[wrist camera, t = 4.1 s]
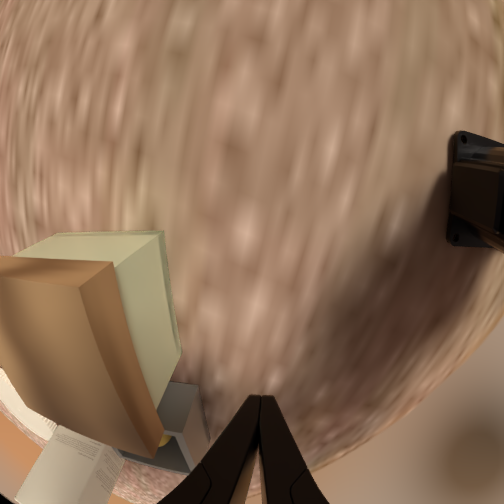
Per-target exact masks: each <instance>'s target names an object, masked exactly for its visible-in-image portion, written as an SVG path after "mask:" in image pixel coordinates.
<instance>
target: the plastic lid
mask: <svg viewBox="0 0 504 504" xmlns="http://www.w3.org/2000/svg"><path fill="white" fill-rule="evenodd" d="M0 400H1V401H2V402H3V403H4V405H5V406H6V407H7V408H8V409H9V411H10V412H11V413H12V414H13V415H14V416H15V417H16V418H17V419H18V420H19V421H20V422H21V423H22V424H24V425H25V426H26V427H27V428H28V429H30V430H31V431H32V432H34V433H35V434H36V435H38V436H40V437H41V438H43V439H45V440H47V441H49V440H50V438H51V437H52V435H53V433H54V432H55V430H56V429H57V427H58V426H57V425H56V423H55V422H53V421H51V420H49V419H47V418H45V417H44V416H42V415H40V414H38V413H36V412H34V411H33V410H31V409H29V408H28V407H27V406H26V405H25V404H24V402H23V401H22V399H21V398H20V396H19V395H18V393H17V392H16V390H15V388H14V387H13V385H12V384H11V382H10V380H9V379H8V377H7V375H6V374H5V372H4V370H3V369H2V368H0Z"/></svg>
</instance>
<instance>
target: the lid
mask: <svg viewBox="0 0 504 504" xmlns="http://www.w3.org/2000/svg"><path fill="white" fill-rule="evenodd" d="M0 365H1V366H2V368H3V370H4V372H5V374H6V375H7V377H8V379H9V380H10V382H11V384H12V385H13V387H14V388H15V390H16V392H17V393H18V395H19V396H20V398H21V399H22V401H23V402H24V404H25V405H26V406H27V407H28V408H29V409H31V410H33V411H34V412H36V413H38V414H40V415H42V416H44V417H45V418H47V419H49V420H51V421H53V422H55V423H57V424H59V425H61V426H63V427H65V428H67V429H70V430H72V431H74V432H76V433H79V434H81V435H83V436H86V437H88V438H90V439H93V440H95V441H98V442H101V443H103V444H106V445H109V446H111V447H114V448H117V449H120V450H123V451H126V452H129V453H133V454H136V455H139V456H143V457H146V458H150V459H154V457H155V454H156V451H157V449H158V446H159V443H160V441H161V438H162V436H163V433H164V428H163V425H162V423H161V421H160V418H159V416H158V414H157V411H156V409H155V406H154V404H153V401H152V398H151V396H150V393H149V391H148V388H147V385H146V382H145V380H144V377H143V374H142V371H141V368H140V365H139V362H138V359H137V356H136V353H135V349H134V346H133V343H132V339H131V336H130V332H129V329H128V325H127V322H126V318H125V314H124V310H123V306H122V302H121V298H120V293H119V289H118V284H117V280H116V275H115V270H114V264H113V261H91V260H69V259H49V258H30V257H12V256H0Z"/></svg>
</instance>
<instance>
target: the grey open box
mask: <svg viewBox="0 0 504 504" xmlns="http://www.w3.org/2000/svg"><path fill="white" fill-rule="evenodd" d="M156 411H157V414H158V416H159V418H160V421H161V423H162V425H163V428H164V433H163V434H165V435H170V436H172V437H171V439H170V440H169V442H168V443H166V444H165V445H163V446H160V447H158V449H157V451H156V454H155V457H154V459H150V458H146V457H143V456H139V455H136V454H133V453H129V452H126V451H123V450H120V449H117V448H114V447H112V449H113V450H114V451H115V453H116V454H117V455H118V456H119V457H120V458H123V459H126V460H129V461H132V462H135V463H139V464H142V465H146V466H149V467H153V468H157V469H160V470H165V471H169V472H173V473H178V474H182V475H187V476H188V475H189V474H190V473H191V471H192V470H193V469H194V468H195V467H196V465H197V464H198V463H199V462H200V461H201V459H202V458H203V457H204V456H205V454H206V453H207V450H208V446H209V442H210V435H209V431H208V427H207V422H206V418H205V414H204V409H203V405H202V400H201V396H200V391H199V386H198V385H192V384H185V383H178V382H172V381H169V383H168V385H167V387H166V389H165V392H164V394H163V396H162V398H161V401H160V403H159V405H158V407H157V410H156ZM200 463H201V462H200Z"/></svg>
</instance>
